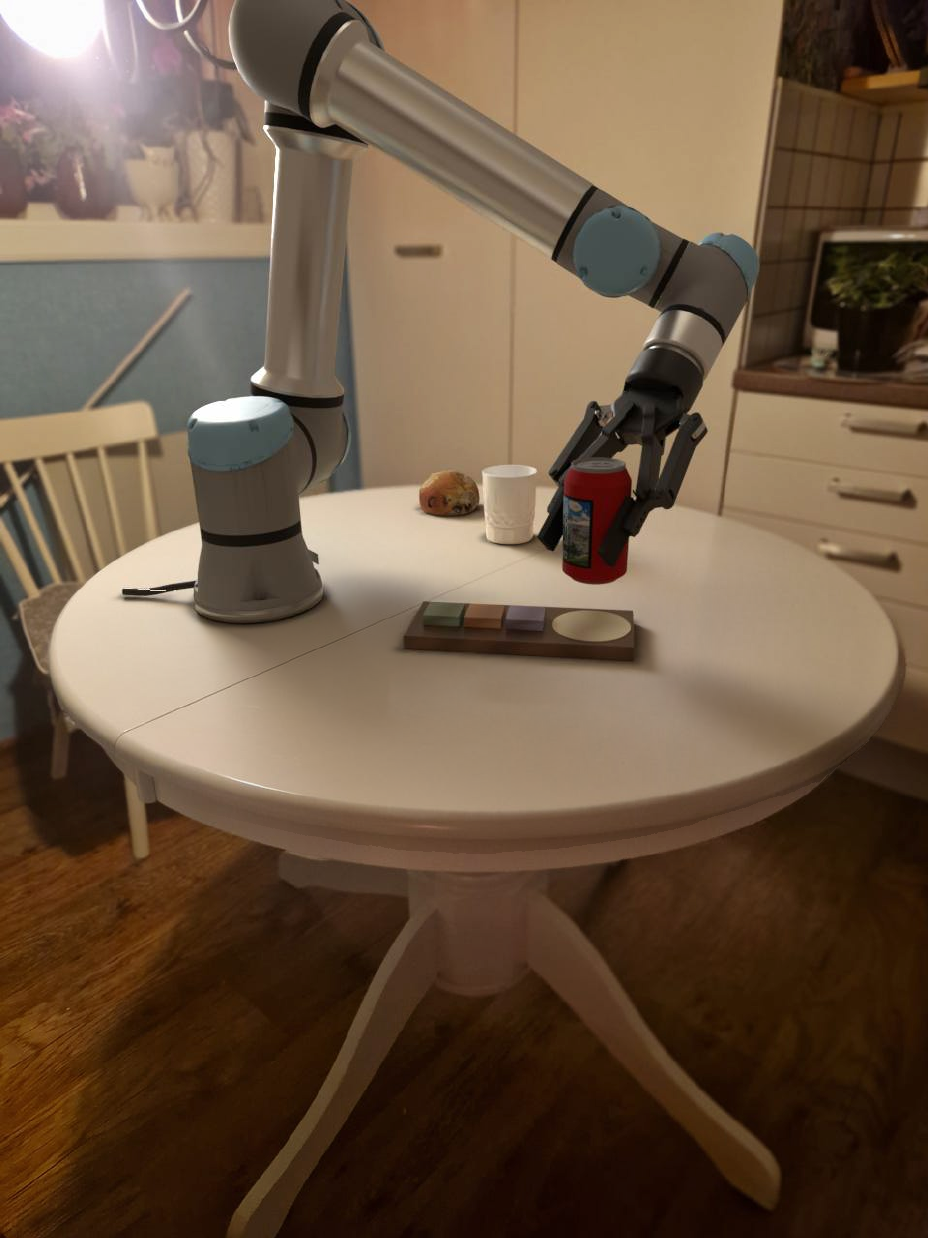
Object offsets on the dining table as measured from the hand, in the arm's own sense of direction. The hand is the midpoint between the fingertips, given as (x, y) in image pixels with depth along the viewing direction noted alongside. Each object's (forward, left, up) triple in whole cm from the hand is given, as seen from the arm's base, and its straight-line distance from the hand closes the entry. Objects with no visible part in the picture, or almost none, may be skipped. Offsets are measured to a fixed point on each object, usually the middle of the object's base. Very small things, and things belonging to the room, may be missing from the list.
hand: (574, 551), depth 87 cm
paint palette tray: (-6, +1, -11) cm, 12 cm away
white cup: (-23, +32, -11) cm, 41 cm away
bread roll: (-39, +42, -11) cm, 58 cm away
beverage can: (+1, +3, -4) cm, 5 cm away
